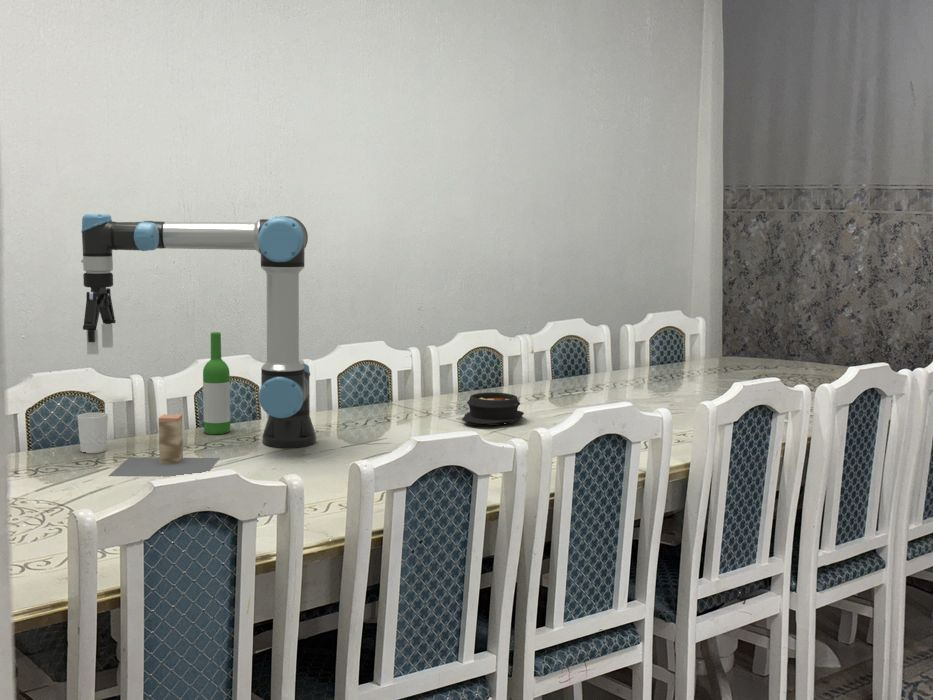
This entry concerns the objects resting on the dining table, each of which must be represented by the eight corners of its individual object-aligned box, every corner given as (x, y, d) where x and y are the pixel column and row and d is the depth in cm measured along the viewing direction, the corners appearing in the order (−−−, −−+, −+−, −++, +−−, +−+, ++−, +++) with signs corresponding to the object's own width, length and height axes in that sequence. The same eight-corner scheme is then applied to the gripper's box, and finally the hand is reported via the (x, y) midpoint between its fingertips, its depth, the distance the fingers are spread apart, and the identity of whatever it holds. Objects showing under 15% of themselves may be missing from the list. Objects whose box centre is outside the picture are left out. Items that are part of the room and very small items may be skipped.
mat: (220, 459, 290) (220, 457, 290) (205, 478, 270) (205, 476, 270) (129, 458, 289) (129, 457, 289) (108, 477, 269) (108, 476, 269)
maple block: (182, 458, 288) (182, 414, 287) (178, 463, 283) (177, 418, 282) (163, 458, 288) (163, 414, 286) (159, 463, 283) (158, 418, 281)
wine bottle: (211, 436, 318) (209, 334, 314) (199, 431, 324) (197, 332, 320) (235, 433, 323) (233, 333, 319) (222, 428, 329) (221, 330, 325)
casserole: (499, 432, 331) (499, 405, 330) (447, 425, 340) (448, 398, 339) (537, 419, 352) (537, 393, 351) (487, 412, 361) (488, 387, 360)
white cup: (74, 450, 298) (73, 414, 297) (102, 446, 303) (101, 411, 302) (84, 455, 292) (83, 419, 291) (113, 451, 297) (112, 415, 296)
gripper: (97, 269, 302) (99, 344, 305) (68, 275, 277) (71, 357, 280) (124, 269, 302) (126, 344, 305) (98, 275, 277) (101, 357, 280)
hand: (100, 350), depth 292 cm, fingers open, 13 cm apart
